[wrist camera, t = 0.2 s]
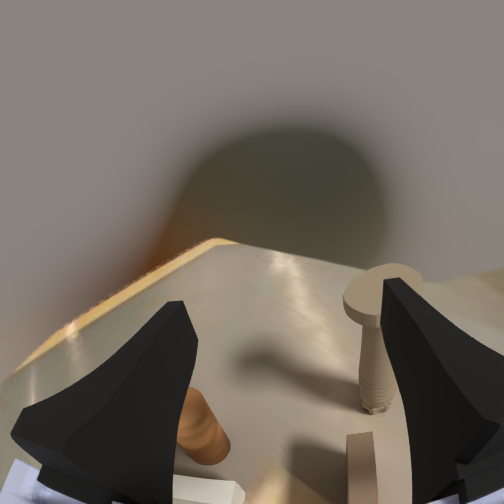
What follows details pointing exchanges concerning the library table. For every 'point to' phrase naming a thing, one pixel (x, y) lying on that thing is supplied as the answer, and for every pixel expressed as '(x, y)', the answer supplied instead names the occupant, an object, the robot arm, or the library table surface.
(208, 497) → the socket block
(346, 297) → the handle
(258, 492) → the library table surface
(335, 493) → the library table surface
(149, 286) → the library table surface
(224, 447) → the dowel
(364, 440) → the wall
